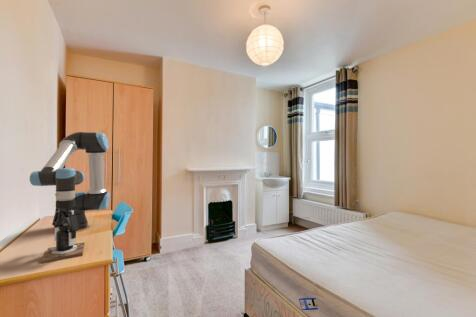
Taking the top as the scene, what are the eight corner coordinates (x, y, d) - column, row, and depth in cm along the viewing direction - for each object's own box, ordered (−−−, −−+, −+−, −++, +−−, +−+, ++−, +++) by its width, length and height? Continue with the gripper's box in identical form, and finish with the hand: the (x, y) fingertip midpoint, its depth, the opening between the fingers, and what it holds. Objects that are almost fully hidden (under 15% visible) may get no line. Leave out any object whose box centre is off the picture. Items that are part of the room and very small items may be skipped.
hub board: (48, 250, 111) (48, 246, 111) (84, 244, 119) (84, 240, 119) (41, 263, 98) (41, 258, 98) (82, 255, 106) (82, 251, 106)
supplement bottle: (53, 249, 108) (54, 224, 108) (70, 245, 114) (70, 221, 114) (58, 253, 104) (58, 227, 104) (75, 248, 109) (75, 224, 109)
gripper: (44, 198, 111) (43, 240, 111) (70, 203, 100) (69, 250, 100) (61, 196, 118) (61, 235, 118) (87, 200, 106) (87, 244, 106)
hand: (65, 242), depth 109 cm, fingers open, 13 cm apart
